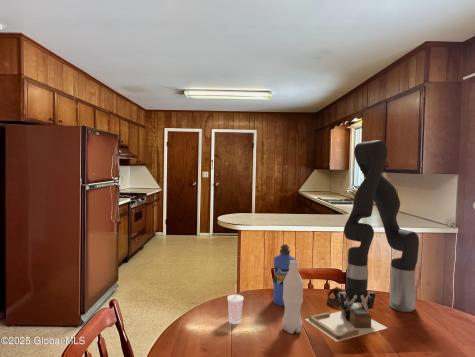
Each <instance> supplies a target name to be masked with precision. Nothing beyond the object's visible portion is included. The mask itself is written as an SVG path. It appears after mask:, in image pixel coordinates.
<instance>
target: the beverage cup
mask: <svg viewBox="0 0 475 357" xmlns="http://www.w3.org/2000/svg"><path fill="white" fill-rule="evenodd" d="M234 286H235V287H234V293H233V294H229V295H227V297H226V298H227V303H228V305H227V306H228V307H227V308H228V323H229V324H233V325H238V324H240V323H241V322H242V315H243V314H242V312H243V306H244V305H243V304H244V303H243V302H244V300H245V298H244V296H243V295H241V294H237V284H234Z"/></svg>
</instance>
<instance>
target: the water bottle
mask: <svg viewBox="0 0 475 357" xmlns="http://www.w3.org/2000/svg"><path fill="white" fill-rule="evenodd" d="M299 268H300V267H299V260H290V265H289V271H288V273H287V275H286V277H285V279H284V281H283V301H284V306H283V307H284V312H283V313H284V314H283V317H282V319H281V324H282V329H283V330H284V331H285V332H286V333H288V334H289V335H291V334H294V333H296V334H298V333H300V332H301V330H302V328H303V320H302V318H301V317H302V316H301V307H302V304H303V303H304V298H303V297H304V296H303V295H304V294H303V293H304V281H303V278H302V277H301V275H300V272H299Z"/></svg>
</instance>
